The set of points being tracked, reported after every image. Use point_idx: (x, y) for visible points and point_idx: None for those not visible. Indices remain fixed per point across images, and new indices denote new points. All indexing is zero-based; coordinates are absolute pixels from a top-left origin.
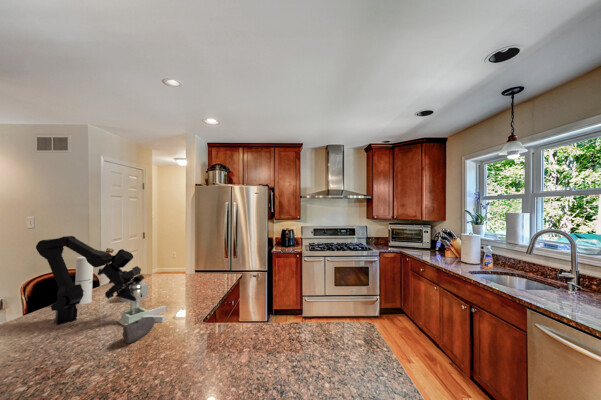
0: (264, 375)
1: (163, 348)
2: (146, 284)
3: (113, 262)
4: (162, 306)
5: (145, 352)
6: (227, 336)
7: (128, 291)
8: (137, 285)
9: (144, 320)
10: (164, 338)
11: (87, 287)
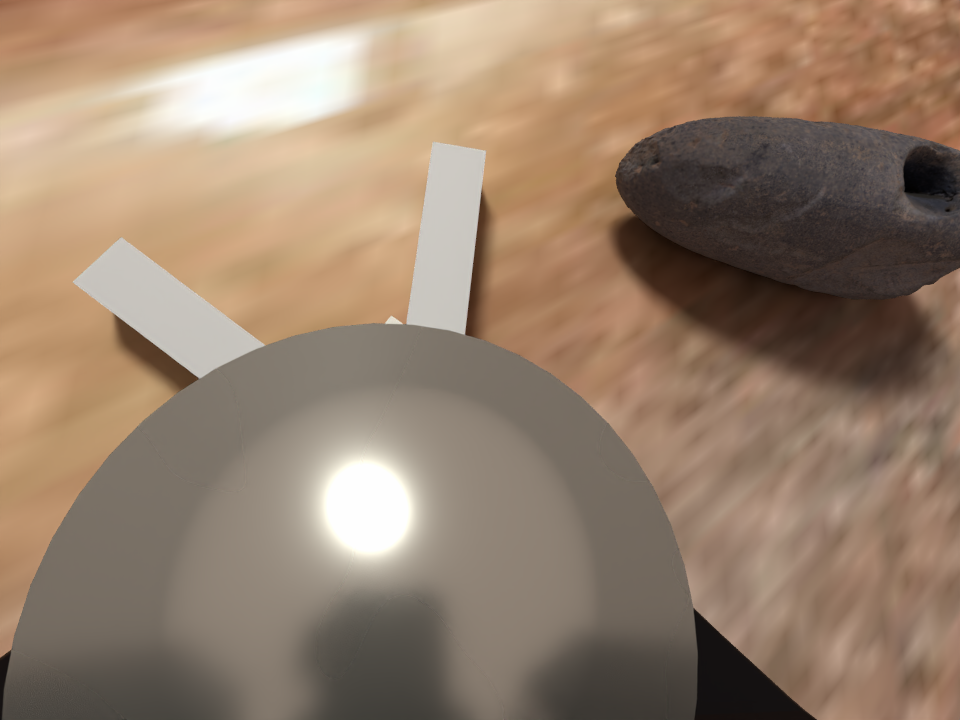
0: None
1: (858, 24)
2: None
3: None
4: (121, 292)
5: (913, 104)
6: None
7: (730, 683)
8: (570, 414)
9: (843, 125)
10: (748, 61)
11: None
